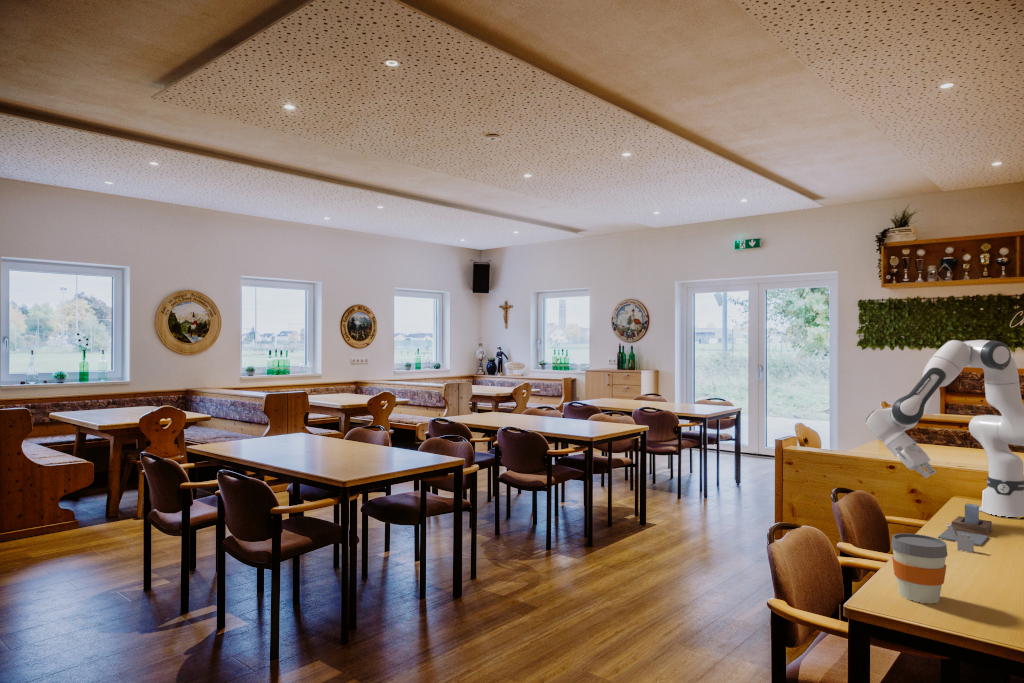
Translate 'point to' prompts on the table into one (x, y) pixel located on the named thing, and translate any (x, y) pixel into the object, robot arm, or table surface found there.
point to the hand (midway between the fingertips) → (931, 475)
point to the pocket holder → (972, 526)
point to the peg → (972, 514)
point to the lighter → (962, 540)
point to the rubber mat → (977, 538)
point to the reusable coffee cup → (919, 566)
